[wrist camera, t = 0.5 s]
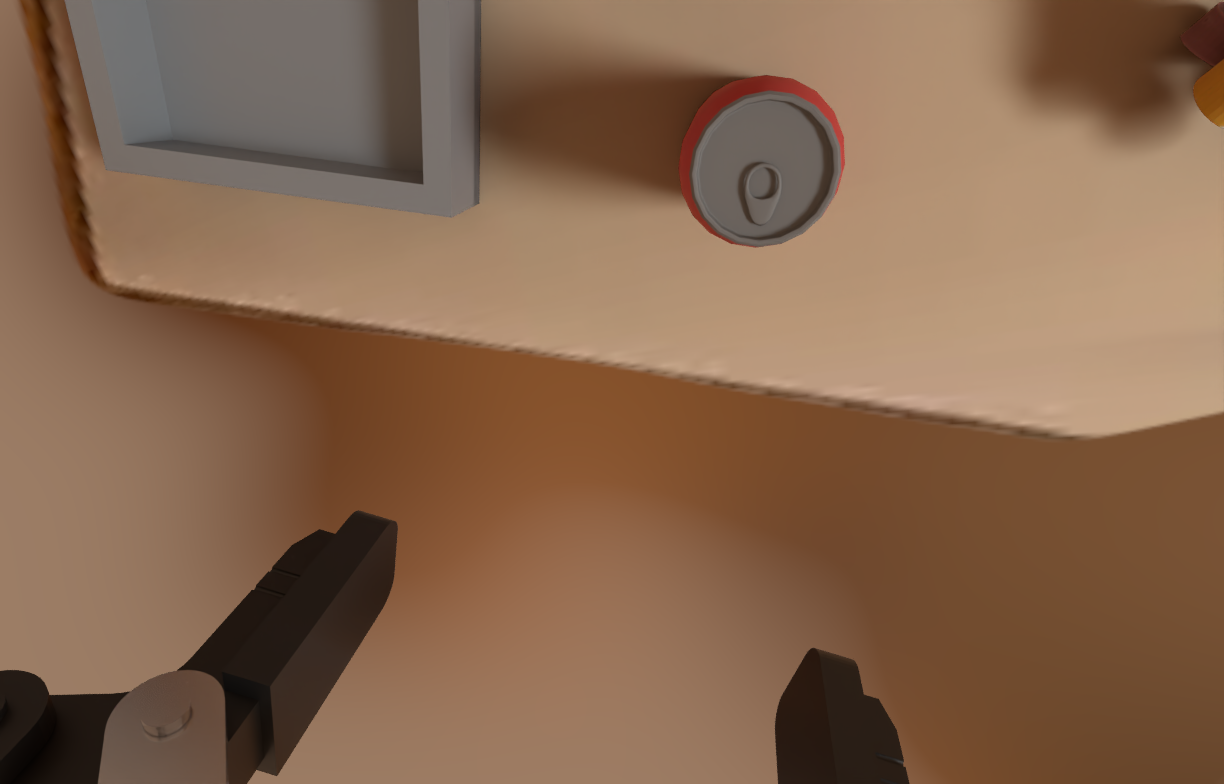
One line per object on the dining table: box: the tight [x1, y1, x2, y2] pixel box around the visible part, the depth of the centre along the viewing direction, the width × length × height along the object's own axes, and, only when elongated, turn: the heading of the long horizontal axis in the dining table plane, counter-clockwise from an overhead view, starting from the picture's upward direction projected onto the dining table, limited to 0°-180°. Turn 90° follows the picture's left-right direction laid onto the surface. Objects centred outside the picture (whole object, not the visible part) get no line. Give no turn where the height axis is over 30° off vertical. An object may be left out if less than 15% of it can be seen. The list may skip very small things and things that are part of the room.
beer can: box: [678, 75, 845, 247], centre depth 29 cm, size 7×7×12 cm
